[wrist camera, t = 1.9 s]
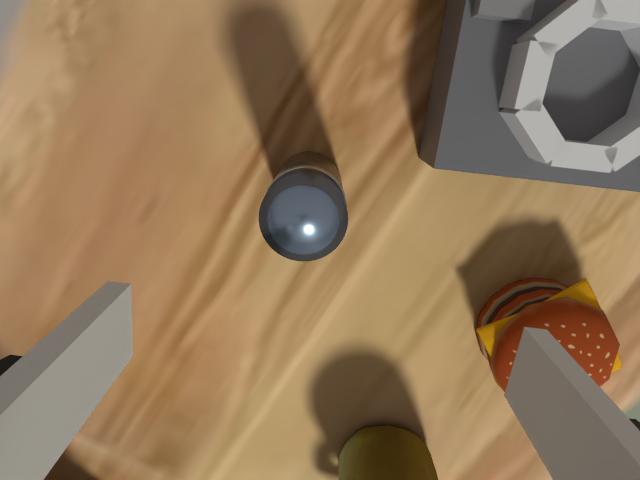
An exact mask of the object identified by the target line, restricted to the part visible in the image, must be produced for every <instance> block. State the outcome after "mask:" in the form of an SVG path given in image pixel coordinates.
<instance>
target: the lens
mask: <svg viewBox="0 0 640 480" xmlns="http://www.w3.org/2000/svg"><path fill="white" fill-rule="evenodd" d="M259 225H260V229H261V232H262V235H263V237H264V239H265V240H266V242H267V243H268V244H269V246H270V247H271V248H272V249H273V250H274V251H276V252H277V253H278V254H280V255H282V256H283V257H286V258H288V259H291V260H296V261H312V260H317V259H320V258H322V257H324V256H326V255H328V254H329V253H331V252H332V251H333V250H335V249H336V248H337V246H338V245H339V244H340V243H341V241H342V239H343V238H344V236H345V233H346V230H347V225H348V213H347V204H346V198H345V194H344V191H343V187H342V182H341V177H340V173H339V171H338V169H337V167H336V166H335V164H334V163H333V162H332V161H331V160H330V159H329V158H327V157H326V156H324V155H322V154H319V153H316V152H302V153H298V154H295V155H294V156H292V157H290V158H289V159H288V160H287V161H286V162H285V163H284V164H283V165H282V167H281V168H280V170H279V172H278V174H277V175H276V177H275V179H274V180H273V181H272V183H271V185H270V186H269V188H268V190H267V192H266V195H265V197H264V199H263V201H262V203H261V207H260V211H259Z"/></svg>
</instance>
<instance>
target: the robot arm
mask: <svg viewBox="0 0 640 480" xmlns="http://www.w3.org/2000/svg"><path fill="white" fill-rule="evenodd" d="M132 356H133V342H132V291H131V284H128V283H119V282H110V281H108V282H106V283H105V284H104V285H103V286H102V287H101V288H100V289H99V290H97V291H96V292H95V293H94V294H93V295H92V296H91V297H89V298H88V299H87V300H86V301H85V302H84V303H83V304H82V305H80V306H79V307H78V308H77V309H76V310H75V311H74V312H72V313H71V314H70V315H69V316H68V317H67V318H66V319H65V320H63V321H62V322H61V323H60V324H59V325H58V326H57V327H56V328H54V329H53V330H52V331H51V332H50V333H49V334H48V335H46V336H45V337H44V338H43V339H42V340H41V341H40V342H39V343H37V344H36V345H35V346H34V347H33V348H32V349H31V350H29V351H28V352H27V353H26V354H25V355H24V356H16V355H9V356H7V357H5V358H3V359H1V360H0V480H44V478H45V477H46V476H47V474H48V473H49V471H50V470H51V469H52V467H53V466H54V464H55V463H56V462H57V460H58V459H59V458H60V456H61V455H62V453H63V452H64V451H65V449H66V448H67V446H68V445H69V444H70V442H71V441H72V440H73V438H74V437H75V435H76V434H77V433H78V431H79V430H80V428H81V427H82V426H83V424H84V423H85V422H86V420H87V419H88V417H89V416H90V415H91V413H92V412H93V410H94V409H95V408H96V406H97V405H98V404H99V402H100V401H101V399H102V398H103V397H104V395H105V394H106V392H107V391H108V390H109V388H110V387H111V386H112V384H113V383H114V381H115V380H116V379H117V377H118V376H119V374H120V373H121V372H122V370H123V369H124V368H125V366H126V365H127V363H128V362H129V361H130V359H131V358H132ZM504 396H505V398H506V399H507V401H508V403H509V404H510V406H511V408H512V410H513V411H514V413H515V415H516V416H517V418H518V420H519V422H520V423H521V425H522V427H523V429H524V430H525V432H526V434H527V435H528V437H529V439H530V441H531V442H532V444H533V446H534V447H535V449H536V451H537V453H538V454H539V456H540V458H541V459H542V461H543V463H544V465H545V466H546V468H547V470H548V471H549V473H550V475H551V477H552V478H553V480H640V422H638V421H637V420H636V419H629V418H628V417H627V416H626V415H625V414H624V413H623V412H622V411H621V410H620V409H619V408H618V406H617V405H616V404H615V403H614V402H613V401H612V400H611V399H610V398H609V397H608V396H607V394H606V393H605V392H604V391H603V390H602V389H601V388H600V387H599V386H598V385H597V384H596V383H595V381H594V380H593V379H592V378H591V377H590V376H589V375H588V374H587V373H586V372H585V371H584V369H583V368H582V367H581V366H580V365H579V364H578V363H577V362H576V361H575V360H574V359H573V357H572V356H571V355H570V354H569V353H568V352H567V351H566V350H565V349H564V348H563V347H562V346H561V344H560V343H559V342H558V341H557V340H556V339H555V338H554V337H553V336H552V335H551V334H550V332H549V331H548V330H547V329H538V328H529V327H524V330H523V333H522V337H521V340H520V343H519V347H518V350H517V354H516V357H515V360H514V364H513V367H512V371H511V374H510V377H509V381H508V384H507V388H506V391H505V394H504Z"/></svg>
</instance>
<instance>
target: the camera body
mask: <svg viewBox="0 0 640 480" xmlns="http://www.w3.org/2000/svg"><path fill="white" fill-rule="evenodd" d="M419 158H420V159H421V160H423V161H424V162H426V163H427V164H428V165H430V166H431V167H433V168H436V169H444V170H453V171H462V172H470V173H479V174H488V175H496V176H505V177H514V178H523V179H531V180H540V181H549V182H557V183H566V184H575V185H583V186H592V187H601V188H609V189H618V190H627V191H636V192H640V0H447V2H446V8H445V13H444V19H443V24H442V30H441V36H440V41H439V47H438V52H437V58H436V63H435V69H434V74H433V80H432V85H431V91H430V96H429V102H428V108H427V113H426V119H425V124H424V130H423V135H422V141H421V146H420V152H419Z"/></svg>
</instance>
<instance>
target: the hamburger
mask: <svg viewBox="0 0 640 480" xmlns="http://www.w3.org/2000/svg"><path fill="white" fill-rule="evenodd" d="M524 327H529V328H538V329H547V330H548V331H549V332H550V334H551V335H552V336H553V337H554V338H555V339H556V340H557V341H558V342H559V343H560V344H561V346H562V347H563V348H564V349H565V350H566V351H567V352H568V353H569V354H570V355H571V356H572V357H573V359H574V360H575V361H576V362H577V363H578V364H579V365H580V366H581V367H582V368H583V369H584V371H585V372H586V373H587V374H588V375H589V376H590V377H591V378H592V379H593V380H594V381H595V383H596V384H597V385H598V386H599V387H600V386H601V385H603V384H604V383H605V382H606V381H607V380H609V378H610V375H611V373H613V372H615V371H616V370H618V369H620V368H621V367H622V366H621V360H620V356H619V354H618V349H619V346H620V344H619V342H618V340H617V338H616V336H615V334H614V332H613V330H612V327H611V325H610V323H609V321H608V319H607V317H606V315H605V313H604V312H603V310H602V309H601V308H600V306H599V304H598V301H597V299H596V297H595V294H594V292H593V291H592V289H591V287H590V285H589V283H588V281H587V280H586V278H585V279H583V280H581V281H580V282H578V283H576V284H574V285H572V286H571V287H569V288H568V287H566V286H564V285H562V284H560V283H558V282H556V281H554V280H550V279H533V278H528V279H525V280H522V281H518V282H515V283H511V284H509V285H507V286H506V287H504V288H503V289H502V290H500V291H499V292H498V293H496V294H495V295H493V296H492V297H491V298H490V299H489V301H488V302H487V304H486V305H485V307H484V308H483V310H482V311H481V313H480V316H479V321H478V326H477V329H476V331H477V332H476V335H477V339H478V342H479V346H480V350H481V352H482V354H483V355H484V356H485V357H486V358H487V359H488V361H489V365H490V368H491V371H492V373H493V376H494V379H495V382H496V383H497V384H498V385H499V386H500V387H501V388H502V390H503V391H504V392H505V391H506V388H507V384H508V381H509V377H510V374H511V371H512V367H513V364H514V360H515V357H516V354H517V350H518V347H519V343H520V340H521V337H522V333H523V330H524Z"/></svg>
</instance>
